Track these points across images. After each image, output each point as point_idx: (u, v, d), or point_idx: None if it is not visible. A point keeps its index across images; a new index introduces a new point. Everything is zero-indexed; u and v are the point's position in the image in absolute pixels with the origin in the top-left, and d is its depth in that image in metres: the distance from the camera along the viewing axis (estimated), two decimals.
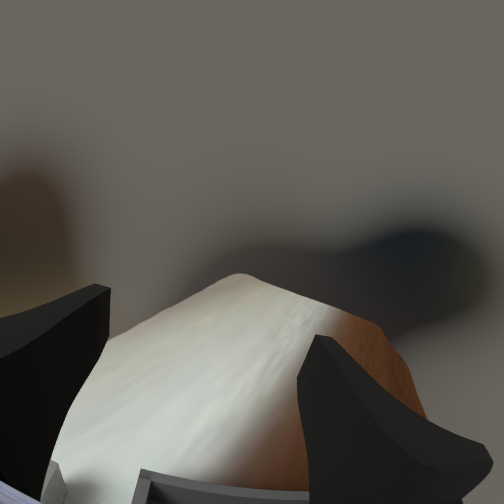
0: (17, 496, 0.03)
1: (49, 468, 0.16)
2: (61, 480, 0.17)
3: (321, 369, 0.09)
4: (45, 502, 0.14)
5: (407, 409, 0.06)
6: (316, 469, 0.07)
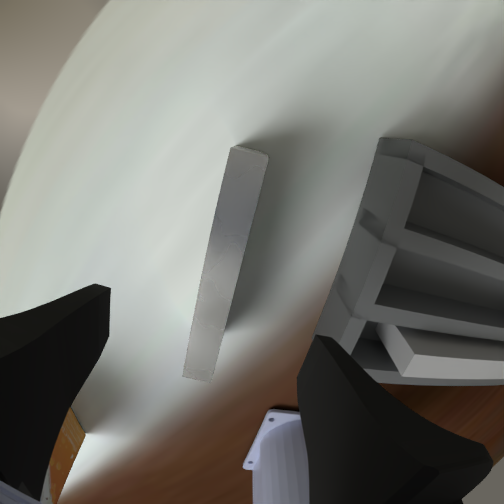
0: (17, 496, 0.03)
1: (253, 174, 0.13)
2: None
3: (321, 369, 0.09)
4: None
5: (407, 409, 0.06)
6: (316, 469, 0.07)
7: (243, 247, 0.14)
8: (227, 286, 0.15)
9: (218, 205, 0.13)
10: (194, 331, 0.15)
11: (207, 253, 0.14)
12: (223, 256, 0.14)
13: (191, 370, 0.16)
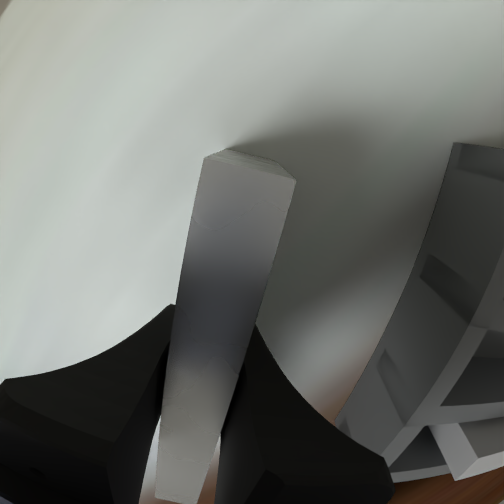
0: None
1: (259, 222, 0.06)
2: None
3: None
4: None
5: (305, 403, 0.06)
6: (222, 461, 0.07)
7: (237, 364, 0.07)
8: (211, 418, 0.07)
9: (181, 288, 0.06)
10: (162, 462, 0.08)
11: (168, 371, 0.07)
12: (199, 377, 0.07)
13: (166, 494, 0.09)
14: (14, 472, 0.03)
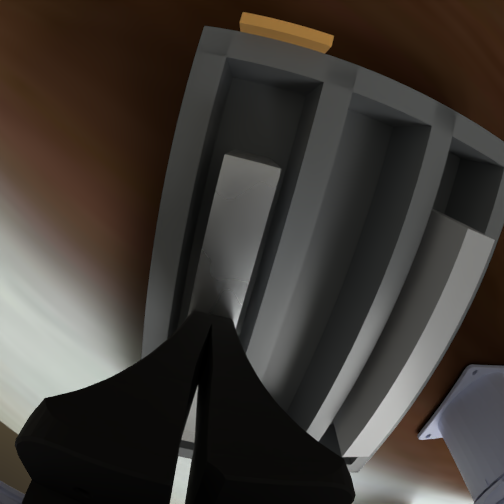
0: (17, 496, 0.03)
1: (258, 194, 0.09)
2: None
3: (207, 349, 0.09)
4: None
5: (270, 399, 0.06)
6: (193, 456, 0.07)
7: (242, 295, 0.10)
8: None
9: (206, 238, 0.09)
10: None
11: (192, 302, 0.10)
12: (214, 307, 0.10)
13: None
14: (52, 491, 0.03)
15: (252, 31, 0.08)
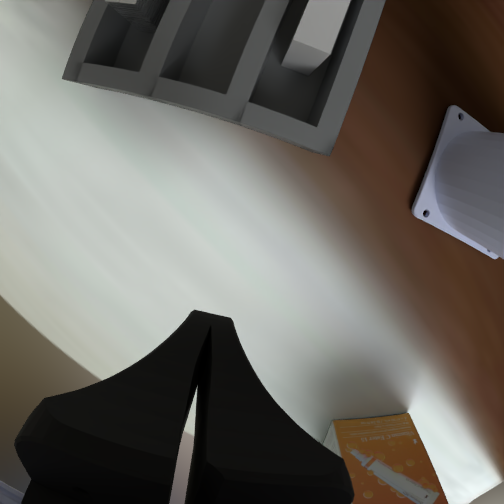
0: (17, 496, 0.03)
1: None
2: None
3: (207, 349, 0.09)
4: None
5: (269, 399, 0.06)
6: (193, 456, 0.07)
7: None
8: None
9: None
10: None
11: None
12: None
13: None
14: (52, 491, 0.03)
15: None
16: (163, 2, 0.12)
